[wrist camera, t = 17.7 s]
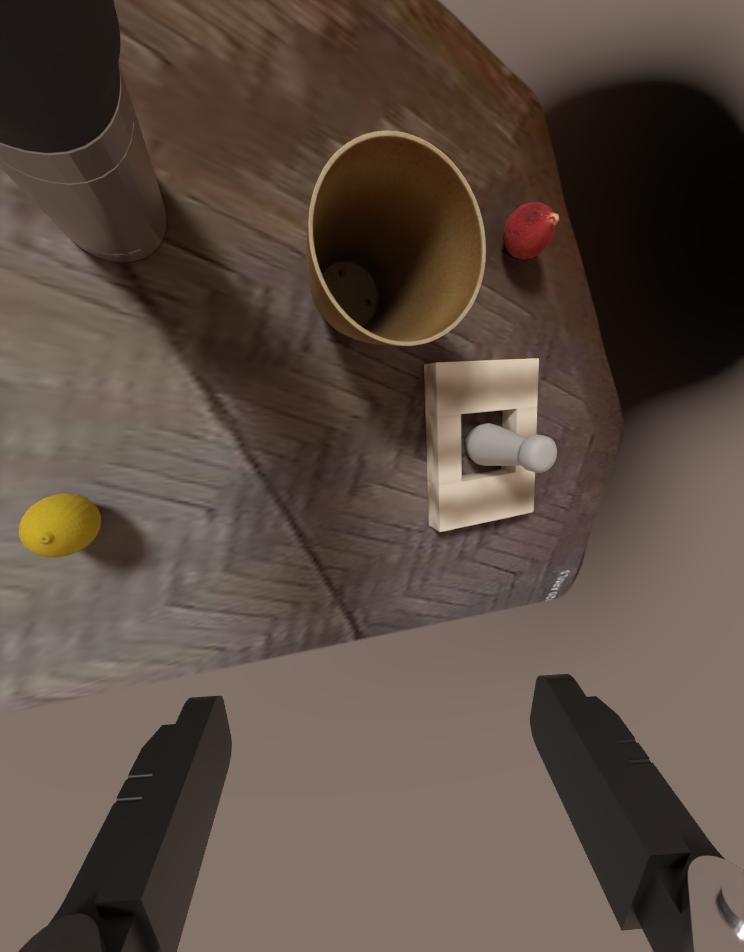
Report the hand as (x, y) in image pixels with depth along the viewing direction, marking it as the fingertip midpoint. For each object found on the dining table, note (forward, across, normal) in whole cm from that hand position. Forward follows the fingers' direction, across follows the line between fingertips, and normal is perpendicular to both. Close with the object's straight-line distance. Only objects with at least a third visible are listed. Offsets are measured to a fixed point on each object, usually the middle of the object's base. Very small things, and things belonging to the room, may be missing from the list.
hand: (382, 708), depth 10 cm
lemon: (+30, +29, +7) cm, 42 cm away
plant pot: (+41, +1, -14) cm, 44 cm away
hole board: (+44, -17, +5) cm, 48 cm away
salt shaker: (+44, -17, +5) cm, 48 cm away
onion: (+49, -21, -21) cm, 57 cm away
